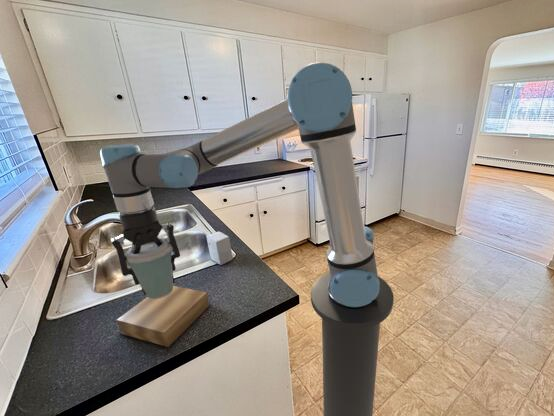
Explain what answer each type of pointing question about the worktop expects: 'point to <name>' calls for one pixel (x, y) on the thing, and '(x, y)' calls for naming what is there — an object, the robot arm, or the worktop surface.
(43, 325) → the worktop surface
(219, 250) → the small box
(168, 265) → the disposable coffee cup
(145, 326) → the maple block
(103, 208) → the worktop surface
